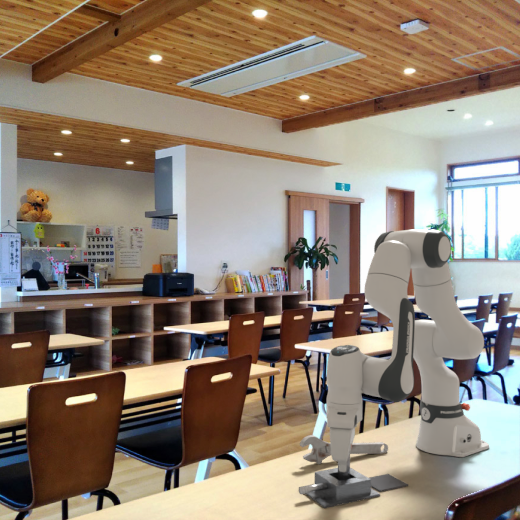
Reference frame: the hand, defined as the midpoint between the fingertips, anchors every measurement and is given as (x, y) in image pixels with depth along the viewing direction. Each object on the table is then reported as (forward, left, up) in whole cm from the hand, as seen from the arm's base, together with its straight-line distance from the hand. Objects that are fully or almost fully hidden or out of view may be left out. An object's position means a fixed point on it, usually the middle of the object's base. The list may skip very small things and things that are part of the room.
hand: (343, 467), depth 144 cm
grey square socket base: (+3, 0, -6) cm, 7 cm away
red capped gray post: (0, 0, -4) cm, 4 cm away
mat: (-13, -1, -6) cm, 14 cm away
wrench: (-14, -20, -7) cm, 26 cm away
